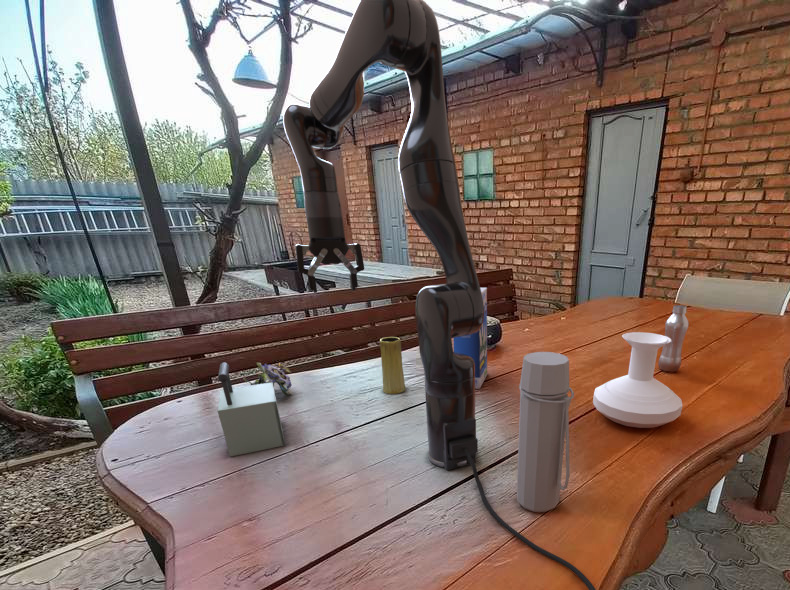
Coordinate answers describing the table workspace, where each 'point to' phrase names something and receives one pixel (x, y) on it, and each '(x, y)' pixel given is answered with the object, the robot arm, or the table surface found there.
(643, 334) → the white flared vase
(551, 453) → the water bottle
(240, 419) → the pale green open box
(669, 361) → the plastic bottle
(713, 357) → the table surface
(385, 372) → the vase
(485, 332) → the string lights box
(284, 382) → the passion flower
